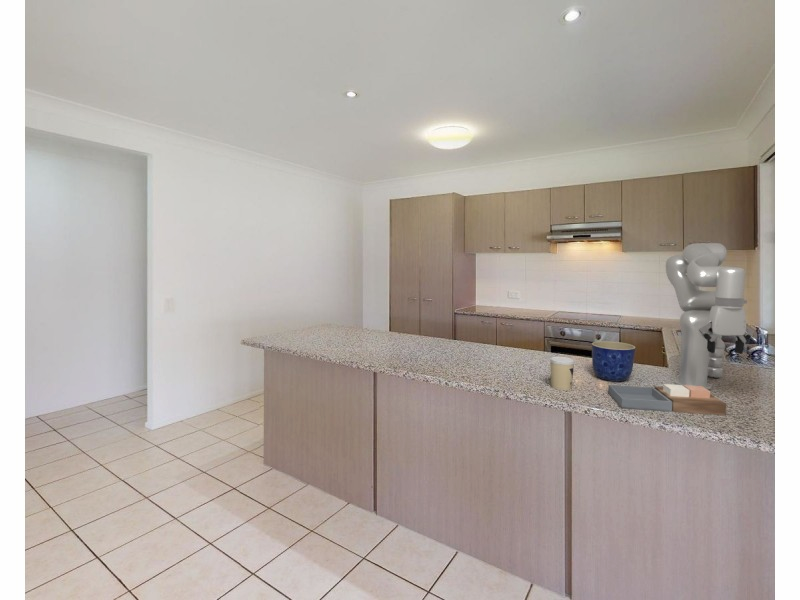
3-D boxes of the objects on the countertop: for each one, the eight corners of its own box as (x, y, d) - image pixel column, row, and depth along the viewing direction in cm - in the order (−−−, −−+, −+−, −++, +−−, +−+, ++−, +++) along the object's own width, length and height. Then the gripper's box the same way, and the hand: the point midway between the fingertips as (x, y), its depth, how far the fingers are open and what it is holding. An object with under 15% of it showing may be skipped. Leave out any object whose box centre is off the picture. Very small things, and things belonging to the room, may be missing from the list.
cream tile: (662, 390, 150) (663, 384, 149) (681, 391, 148) (681, 385, 148) (670, 395, 144) (670, 389, 143) (689, 397, 143) (689, 390, 142)
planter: (640, 385, 168) (642, 349, 167) (597, 383, 171) (599, 348, 169) (624, 374, 185) (626, 341, 183) (585, 372, 188) (586, 340, 186)
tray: (608, 393, 158) (608, 385, 158) (653, 396, 155) (653, 387, 155) (621, 408, 143) (622, 398, 142) (671, 411, 140) (672, 401, 139)
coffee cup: (575, 391, 161) (576, 362, 160) (551, 390, 163) (552, 361, 161) (570, 384, 170) (571, 356, 169) (547, 383, 172) (548, 356, 170)
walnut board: (653, 396, 155) (654, 386, 155) (700, 399, 152) (701, 388, 151) (672, 411, 139) (673, 400, 139) (725, 415, 136) (726, 403, 136)
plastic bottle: (714, 374, 183) (717, 331, 181) (726, 379, 176) (730, 334, 174) (700, 375, 183) (703, 331, 181) (712, 379, 176) (715, 334, 174)
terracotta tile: (682, 391, 148) (683, 385, 148) (700, 392, 147) (701, 386, 147) (690, 397, 142) (691, 390, 142) (709, 398, 141) (710, 391, 141)
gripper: (750, 302, 142) (746, 351, 143) (694, 301, 145) (691, 349, 147) (765, 304, 134) (760, 356, 136) (706, 303, 138) (702, 354, 140)
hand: (724, 352), depth 141 cm, fingers open, 7 cm apart
